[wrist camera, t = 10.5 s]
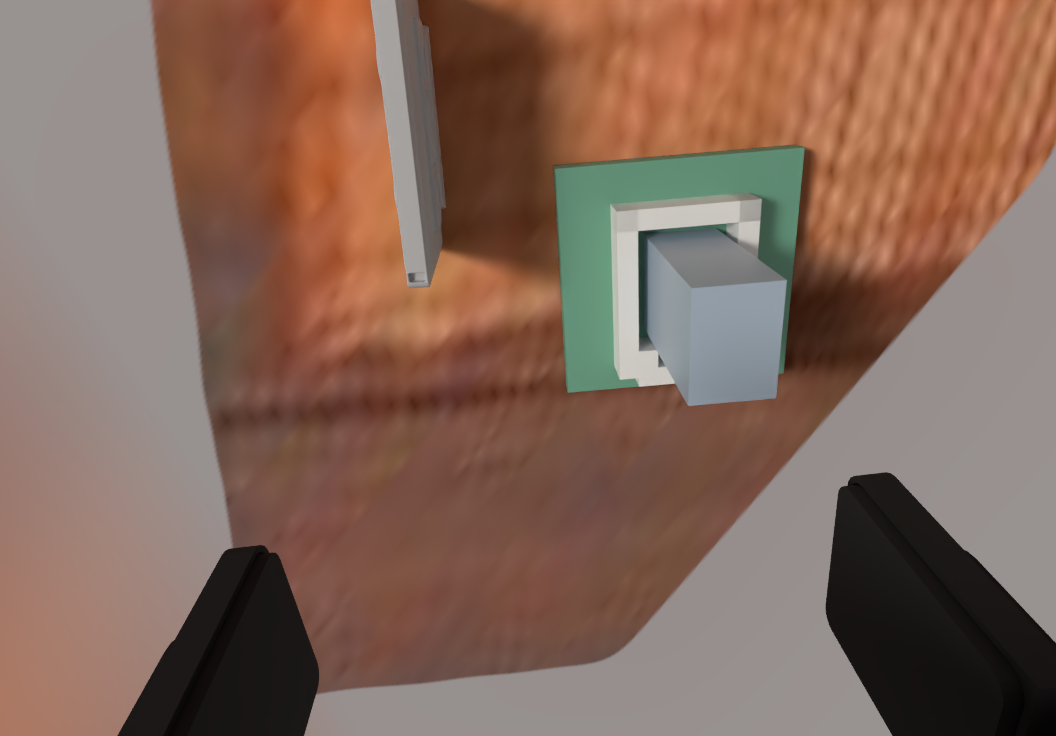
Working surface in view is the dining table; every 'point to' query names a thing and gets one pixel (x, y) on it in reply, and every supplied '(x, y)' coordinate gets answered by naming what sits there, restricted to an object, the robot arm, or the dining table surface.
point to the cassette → (411, 133)
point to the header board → (649, 207)
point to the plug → (713, 315)
